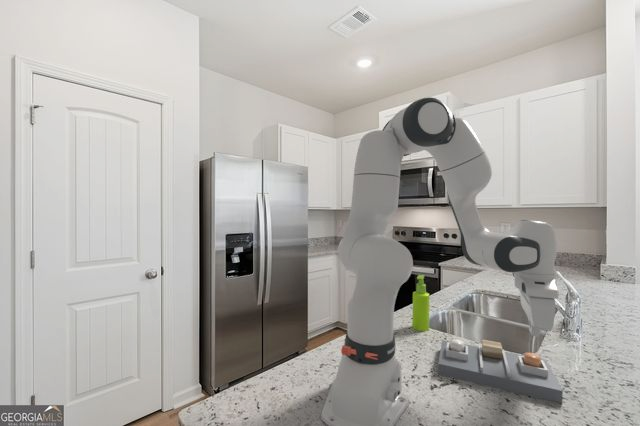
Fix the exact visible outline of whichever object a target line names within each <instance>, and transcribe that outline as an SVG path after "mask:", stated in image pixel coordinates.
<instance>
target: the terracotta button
mask: <svg viewBox="0 0 640 426" xmlns="http://www.w3.org/2000/svg"><path fill="white" fill-rule="evenodd" d="M523 355H524V363H525V364H526V365H528V366H533V367H538V368H540V367H541V359H542V357H541V356H540V355H538V354H536V353H533V352H524V354H523Z"/></svg>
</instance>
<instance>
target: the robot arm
mask: <svg viewBox="0 0 640 426" xmlns="http://www.w3.org/2000/svg"><path fill="white" fill-rule="evenodd" d="M422 151H426V152H427V153H429V154H430V155H431V156H432V158H433V159H434V161H435V162H436V165H437V167H438V169H439V172H440V175H441V176H442V178H443V179H442V180H443V181H444V184H445V188H446V191H447V199H448V201H449V204H450V208H451V210H452V213H453V216H454V220H455V221H456V224H457V225H456V226H457V227H458V231H459V233H460V238H461V250H462V253H463V256H464V258H465V259H466V260H467V261H468V262H469V263H471V264H473V265H476V266H481V267H487V268H490V269H492V270H498V271H500V272H504V273H514V287H515V288H517V289H518V290H519V292H520V299H519V300H520V305H521V307H522V309H523V311H524V313H525V315H526V317H527V319H528V330H529V332H530V335H531V336H533V337H537V338H538V337H540V336H541V333H540V332H541V331H545V332H551V331H552V330H553V328H554V325H555V315H556V314H555V313H556V300H557V299H559V289H558V287H557V269H556V267H555V261H556V258H557V237H556V233H555V229H554V227H553V225H552V224H551V223H548V222H545V221H538V220H531V219H522V220H521V219H520V220H518V222H517V224H515V225H514V226H513V227H511V228H510V229H508V230H506V231H502V232H495V231H494V232H493V231H491V230H489V229H487V228H486V227H485V226H484V224H483V222H482V219H481V216H480V213H479V210H478V207H477V203H476V199H477V198H476V197H477V195H478V194H479V193H481V192H482V191H483V190H484V189H485V188H486V187H487V186H488V184H489V182H490V181H491V178H492V174H493V171H492V165H491V163H490V160H489V158H488V155H487V153H486V151H485V149H484V147H483V144H482V143H481V141H480V140H479V138H478V136H477V134H476V133H475V131H474V130H473V129H472V127H471V126H470V124H469V123H468V122H467V121H466V120H465V119H463V118H462V117H455V115H454V114H453V113H452V111H451V110H450V109H449V107H448V106H447V105H446V104H445V103H444V102H443V101H441V100H440V99H438V98H437V97H424V98H420V99H417V100H415V101H413V102H411V103H410V104H409V105H408V106H406V107H405V108H402V109H401V110H399V111H398V112H397V113H395V115H394V116H393V117H392V118H391V119H390V120H388V121H387V122H386V123H385V125H384V126H383V129H382V130H381V129H379V130H373V131H369V132H367V133H365V134H364V135H363V136H362V138H361V139H360V141H359V145H358V149H357V151H356V157H355V163H354V171H353V181H352V182H353V184H352V195H351V196H352V197H351V205H350V211H349V215H348V219H347V223H346V225H345V226H346V227H345V230H344V234H343V237H342V238H341V240H340V242H339V243H338V247H337V255H338V258H339V259H340V261H341V264H342V265H343V266H344V267H345V269H347V270H348V271H349V272H351V273H353V274H355V278H356V279H355V284H354V285H355V286H354V289H353V293H352V296H351V298H349V300H348V302H347V329H346V330H347V331H346V333H345V338H344V344H343V345H342V346H341V349H340V350H341V351H340V353H341V355H342V356H341V358H340V362H339V365H338V368H337V372H336V375H335V377H334V379H333V382H332V384H331V386H330V389H329V391H328V394H327V397H326V399H325V400H326V401H325V402H324V405H323V408H322V411H321V416H320V418H321V419H320V420H322V422H323V423H324V424H326V426H395V425H396V423H397V422H398V421H399V419H400V418H401V415H402V414H403V413H404V411H405V410H406V409H407V407H408V405H409V404H410V398H409V396H408V395H407V394H405V393H404V392H403V375H402V364H401V363H400V362H399V361H398V359H397V358H396V355H395V354H396V337H395V336H394V319H395V318H394V315H395V313H394V312H395V304H396V300H397V296H398V293H399V291H400V288H401V287H402V285H403V284H404V283H406V282H408V280H409V278H410V277H411V275H412V271H413V268H414V260H413V255H412V254H411V251H410V250H409V249H408V248H407V246H405V245H404V244H402V243H401V242H399V241H398V240H396V239H395V238H392V237H391V236H390V237H389V236H386V233H387V231H388V227H389V224H390V222H391V220H392V218H393V217H394V216H395V215H396V213H397V211H398V208H399V198H400V197H399V196H400V185H401V184H400V183H401V182H400V181H401V180H400V179H401V165H402V160H403V158H404V157H406V156H409V155H411V154H416V153H419V152H422Z"/></svg>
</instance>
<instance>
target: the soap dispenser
mask: <svg viewBox="0 0 640 426" xmlns="http://www.w3.org/2000/svg"><path fill="white" fill-rule="evenodd" d="M424 279H425V274H418V275H417V277H416V280H418V282H417V283H416V287H415V289H416V291H413V292H412V323H411V324H412V329H414V330H415V331H418V332H419V331H420V332H427V331H429V330H430V293H428V292H427V284H426V283H424V282H425V281H424Z"/></svg>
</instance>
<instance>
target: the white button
mask: <svg viewBox="0 0 640 426" xmlns="http://www.w3.org/2000/svg"><path fill="white" fill-rule="evenodd" d="M450 342H451V346H450V349H451V350H452V351H457V352H464V344H465V341H463V340H461V339H457V338H456V339H454V338H453V339H451V340H450Z"/></svg>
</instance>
